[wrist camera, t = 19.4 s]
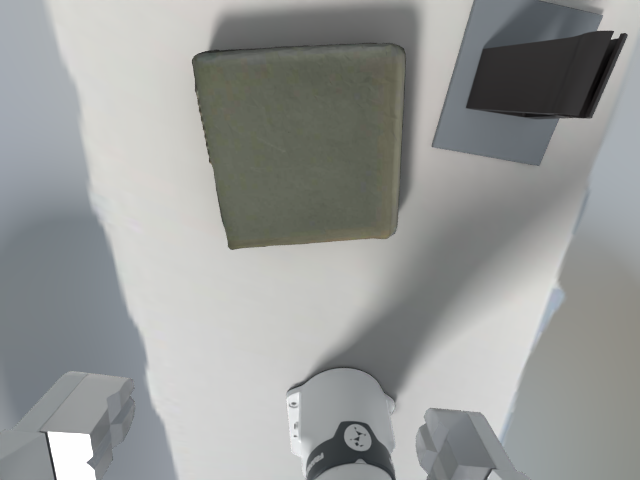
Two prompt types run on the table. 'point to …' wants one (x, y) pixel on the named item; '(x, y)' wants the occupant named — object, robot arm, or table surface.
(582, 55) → the black slotted holder
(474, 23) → the rubber mat
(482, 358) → the table surface
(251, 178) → the network switch
